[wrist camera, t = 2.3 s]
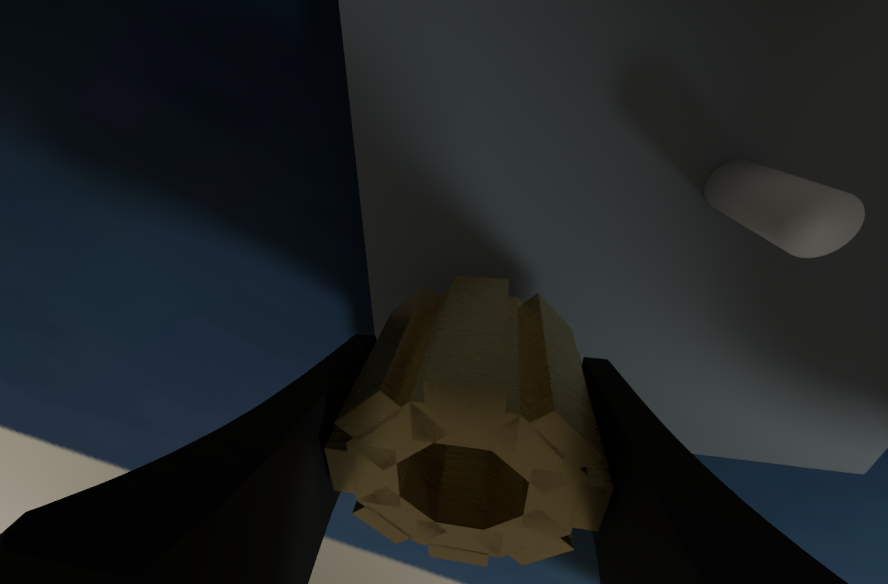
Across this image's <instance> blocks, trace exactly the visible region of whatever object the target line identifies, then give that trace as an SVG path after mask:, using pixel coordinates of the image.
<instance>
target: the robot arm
mask: <svg viewBox="0 0 888 584" xmlns="http://www.w3.org/2000/svg"><path fill="white" fill-rule="evenodd" d="M376 341H377V339H376V336H367V335H357V334H356V335H354V336H353V337H352V338H350V339H349V340H348V341H346V342H345V343H344V344H343V345H341V346H340V347H339V348H338V349H336V350H335V351H334V352H332V353H331V354H330V355H329V356H327V357H326V358H325V359H323V360H322V361H321V362H319V363H318V364H317V365H316V366H314V367H313V368H312V369H310V370H309V371H308V372H306V373H305V374H304V375H302V376H301V377H300V378H298V379H297V380H295V381H294V382H292V383H291V384H289V385H288V386H287V387H285V388H284V389H282V390H281V391H279V392H278V393H276V394H275V395H274V396H272V397H271V398H269V399H268V400H266V401H265V402H263V403H262V404H260V405H258V406H257V407H255V408H254V409H252V410H250V411H249V412H247V413H245V414H244V415H242V416H240V417H238V418H237V419H235V420H233V421H232V422H230V423H228V424H226V425H225V426H223V427H221V428H219V429H217V430H215V431H213V432H211V433H210V434H208V435H206V436H204V437H202V438H200V439H198V440H196V441H194V442H192V443H190V444H188V445H186V446H184V447H182V448H180V449H178V450H176V451H174V452H172V453H170V454H168V455H166V456H164V457H161V458H159V459H157V460H155V461H153V462H151V463H148V464H146V465H144V466H142V467H139V468H137V469H135V470H132V471H130V472H128V473H125V474H123V475H121V476H118V477H116V478H114V479H112V480H109V481H106V482H104V483H101V484H99V485H97V486H94V487H91V488H89V489H86V490H83V491H81V492H78V493H76V494H73V495H70V496H68V497H65V498H62V499H60V500H57V501H54V502H52V503H49V504H47V505H44V506H42V507H39V508H36V509H33V510H30V511H27V512H25V513H24V514H23V515H22V516H21V517H19V519H17V520H16V521H15V522H14V523H13V524H12V525H11V526H10V527H8V528H7V529H6V530H5V531H4V532H3V533H1V534H0V584H308V582H309V579H310V576H311V573H312V570H313V567H314V564H315V561H316V558H317V555H318V552H319V548H320V546H321V543H322V540H323V537H324V534H325V531H326V528H327V525H328V523H329V520H330V517H331V514H332V511H333V509H334V506H335V504H336V501H337V499H338V496H339V494H340V492H341V491H334V488H333V484H332V480H331V475H330V471H329V467H328V462H327V458H326V454H325V449H324V448H325V446H326V444H327V442H328V440H329V438H330V436H331V434H332V432H333V430H334V428H335V426H336V424H335V423H334V422H335V420H336V418H337V416H338V414H339V412H340V410H341V409H342V407H343V405H344V403H345V401H346V399H347V397H348V395H349V393H350V391H351V389H352V387H353V385H354V384H355V382H356V380H357V378H358V376H359V374H360V372H361V370H362V368H363V366H364V364H365V362H366V360H367V358H368V357H369V355H370V353H371V351H372V349H373V347H374V345H375V343H376ZM582 370H583V374H584V378H585V382H586V386H587V390H588V393H589V396H590V399H591V402H592V406H593V409H594V413H595V417H596V421H597V425H598V429H599V433H600V437H601V441H602V445H603V448H604V452H605V456H606V460H607V464H608V468H609V472H610V476H611V480H612V483H613V487H614V490H613V493H612V495H611V498H610V501H609V504H608V506H607V509H606V512H605V514H604V517H603V520H602V522H601V525H600V528H599V531H598V532H597V531H592V532H593V537H594V543H595V548H596V554H597V560H598V568H599V575H600V583H601V584H848V583H847V582H845V581H844V580H842V579H841V578H840V577H838V576H837V575H836V574H834V573H833V572H832V571H830V570H829V569H828V568H826V567H825V566H824V565H822V564H821V563H820V562H818V561H817V560H816V559H814V558H813V557H812V556H811V555H809V554H808V553H807V552H805V551H804V550H803V549H801V548H800V547H799V546H798V545H796V544H795V543H794V542H793V541H791V540H790V539H789V538H788V537H787V536H785V535H784V534H783V533H782V532H780V531H779V530H778V529H777V528H775V527H774V526H773V525H772V524H770V523H769V522H768V521H767V520H765V519H764V518H763V517H762V516H761V515H759V514H758V513H757V512H756V511H755V510H753V509H752V508H751V507H750V506H749V505H747V504H746V503H745V502H744V501H743V500H742V499H741V498H739V497H738V496H737V495H736V494H735V493H734V492H733V491H732V490H730V489H729V488H728V487H727V486H726V485H725V484H724V483H723V482H722V481H720V480H719V479H718V478H717V477H716V476H715V475H714V474H713V473H712V472H711V471H709V470H708V469H707V468H706V467H705V466H704V465H703V464H702V463H701V462H700V461H699V460H698V459H697V458H696V457H695V456H694V455H693V454H692V453H691V452H690V451H689V450H688V449H687V448H686V447H685V446H684V445H683V444H682V443H681V442H680V441H679V440H678V439H677V438H676V437H675V436H674V435H673V434H672V433H671V432H670V431H669V430H668V428H667V427H666V426H665V425H664V424H663V423H662V422H661V421H660V420H659V419H658V418H657V416H656V415H655V414H654V413H653V412H652V411H651V410H650V409H649V408H648V406H647V405H646V404H645V403H644V402H643V401H642V399H641V398H640V397H639V396H638V395H637V394H636V392H635V391H634V390H633V389H632V388H631V386H630V385H629V384H628V383H627V382H626V380H625V379H624V378H623V377H622V376H621V374H620V373H619V372H618V371H617V370H616V368H615V367H614V366H613V365H612V364H611V362H610V361H609V360H608V359H600V358H590V357H584V358H583V362H582Z"/></svg>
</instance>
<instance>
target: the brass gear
mask: <svg viewBox="0 0 888 584" xmlns="http://www.w3.org/2000/svg"><path fill="white" fill-rule="evenodd" d="M508 290H509V279H497V278H484V277H470V276H456V275H454V278H453V281H452V285H451V288H450V292H446V291H444V292H443V293H442V294H441V295H439V296H437V295H436V294H435V293H434V292H433V291H432V290H431V289H429V288H428V287H427V286H426V285H425V284H424V285H423V286H422V287H421V288H420V289H419V290H417V291H416V292H415V293H414V294H413V295H411V296H410V297H409V298H408V299H407V300H405V301H404V302H403V303H402V304H401V305H400V306H398V307H397V308H396V309H395V310H394V311H392V312H391V314H390V316H389V318H388V320H387V322H386V324H385V326H384V328H383V330H382V331H381V333H380V335H379V337H378V339H377V341H376V343H375V345H374V347H373V349H372V351H371V353H370V355H369V357H368V358H367V360H366V362H365V364H364V366H363V368H362V370H361V372H360V374H359V376H358V378H357V380H356V382H355V384H354V385H353V387H352V389H351V391H350V393H349V395H348V397H347V399H346V401H345V403H344V405H343V407H342V409H341V410H340V412H339V414H338V416H337V418H336V420H335V422H334V423H335V424H336V426H335V428H334V430H333V432H332V434H331V436H330V438H329V440H328V442H327V444H326V446H325V448H324V449H325V454H326V458H327V462H328V467H329V471H330V475H331V480H332V484H333V488H334V491H341V492H347V493H354V494H356V499H357V502H356V504H355V507H354V510H353V513H352V514H354V515H355V516H357V517H358V518H360V519H361V520H363V521H364V522H365V523H367V524H368V525H370V526H371V527H373V528H374V529H376V530H377V531H379V532H380V533H381V534H383V535H384V536H386V537H387V538H389V539H390V540H392V541H393V542H395V543H396V544H397V543H400V542H402V541H405V540H407V539H410V538H411V539H412V540H414V541H415V542H416V543H418V544H423V545H429V557H434V558H440V559H446V560H451V561H457V562H463V563H469V564H474V565H480V566H486V567H487V564H488V556H494V557H503V556H506V555H509V556H511V557H512V558H513V559H514V560H516V561H517V562H518V563H520V564H521V565H526V564H529V563H532V562H536V561H539V560H542V559H545V558H549V557H552V556H555V555H559V554H562V553H565V552H569V551H572V550H575V549H574V542H573V535H572V528H578V529H585V530H591V531H597V532H598V531H599V528H600V525H601V522H602V520H603V517H604V514H605V512H606V509H607V506H608V504H609V501H610V498H611V495H612V493H613V490H614V487H613V483H612V480H611V476H610V472H609V468H608V464H607V460H606V456H605V452H604V448H603V445H602V441H601V437H600V433H599V429H598V425H597V421H596V417H595V413H594V409H593V406H592V402H591V399H590V396H589V393H588V390H587V386H586V382H585V378H584V374H583V370H582V363H581V359H580V355H579V353H578V351H577V347H576V344H575V340H574V336H573V332H572V328H571V327H570V326H569V325H568V324H567V323H566V322H565V321H564V319H563V318H562V317H561V316H560V315H559V314H558V313H557V312H556V311H555V310H554V309H553V308H552V307H551V306H550V305H549V304H548V302H547V301H546V300H545V299H544V298H543V297H542V296H541V295H540V294H539V293H537V294H536V295H534V296H533V297H532V298H530V299H529V300H527V301H526V302H524V303H522V302H521V301H520V300H519V299H518V298H517V297H510V296H508Z"/></svg>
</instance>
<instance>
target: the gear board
mask: <svg viewBox="0 0 888 584" xmlns="http://www.w3.org/2000/svg"><path fill="white" fill-rule="evenodd" d="M338 1H339V10H340V19H341V28H342V37H343V47H344V56H345V65H346V74H347V83H348V93H349V102H350V111H351V120H352V129H353V139H354V148H355V157H356V166H357V175H358V185H359V194H360V203H361V212H362V221H363V231H364V240H365V249H366V258H367V267H368V277H369V286H370V295H371V304H372V313H373V323H374V332H375V336H376V339H378V337H379V335H380V333H381V331H382V330H383V328H384V326H385V324H386V322H387V320H388V318H389V316H390V314H391V312H392V311H394V310H395V309H396V308H397V307H398V306H400V305H401V304H402V303H403V302H404V301H405V300H407V299H408V298H409V297H410V296H411V295H413V294H414V293H415V292H416V291H417V290H419V289H420V288H421V287H422V286H423V285H424V284H425V285H426V286H427V287H428V288H429V289H431V290H432V291H433V292H434V293H435V294H436V295H437V296H439V295H441V294H442V293H443V292H444V291H446V292H450V288H451V285H452V281H453V278H454V275H456V276H470V277H484V278H497V279H509V290H508V296H510V297H517V298H518V299H519V300H520V301H521V302H522V303H524V302H526V301H527V300H529V299H530V298H532V297H533V296H534V295H536V294H537V293H539V294H540V295H541V296H542V297H543V298H544V299H545V300H546V301H547V302H548V304H549V305H550V306H551V307H552V308H553V309H554V310H555V311H556V312H557V313H558V314H559V315H560V316H561V317H562V318H563V319H564V321H565V322H566V323H567V324H568V325H569V326H570V327H571V328H572V332H573V336H574V340H575V344H576V347H577V351H578V353H579V355H580V359H581V363H582V362H583V358H584V357H590V358H600V359H608V360H609V361H610V362H611V364H612V365H613V366H614V367H615V368H616V370H617V371H618V372H619V373H620V374H621V376H622V377H623V378H624V379H625V380H626V382H627V383H628V384H629V385H630V386H631V388H632V389H633V390H634V391H635V392H636V394H637V395H638V396H639V397H640V398H641V399H642V401H643V402H644V403H645V404H646V405H647V406H648V408H649V409H650V410H651V411H652V412H653V413H654V414H655V415H656V416H657V418H658V419H659V420H660V421H661V422H662V423H663V424H664V425H665V426H666V427H667V428H668V430H669V431H670V432H671V433H672V434H673V435H674V436H675V437H676V438H677V439H678V440H679V441H680V442H681V443H682V444H683V445H684V446H685V447H686V448H687V449H688V450H689V451H690V452H691V453H692V454H700V455H708V456H716V457H724V458H733V459H741V460H749V461H757V462H765V463H774V464H782V465H790V466H798V467H806V468H815V469H823V470H831V471H839V472H847V473H856V474H865V473H866V472H867V471H868V470H869V468H870V467H871V466H872V465H873V464H874V463H875V462H876V460H877V459H878V458H879V457H880V456H881V455H882V454H883V453H884V451H885V450H886V449H887V448H888V0H338Z"/></svg>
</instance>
